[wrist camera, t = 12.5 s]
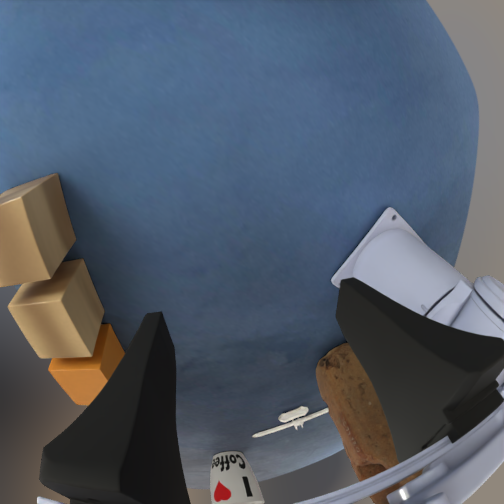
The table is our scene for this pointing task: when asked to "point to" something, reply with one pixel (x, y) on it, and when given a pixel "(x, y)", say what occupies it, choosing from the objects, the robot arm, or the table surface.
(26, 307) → the birch cube
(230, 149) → the table surface
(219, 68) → the table surface
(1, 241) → the birch cube
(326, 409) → the picture light
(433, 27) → the table surface
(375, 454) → the brown speckled rounded part
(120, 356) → the ochre cube
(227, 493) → the cup
